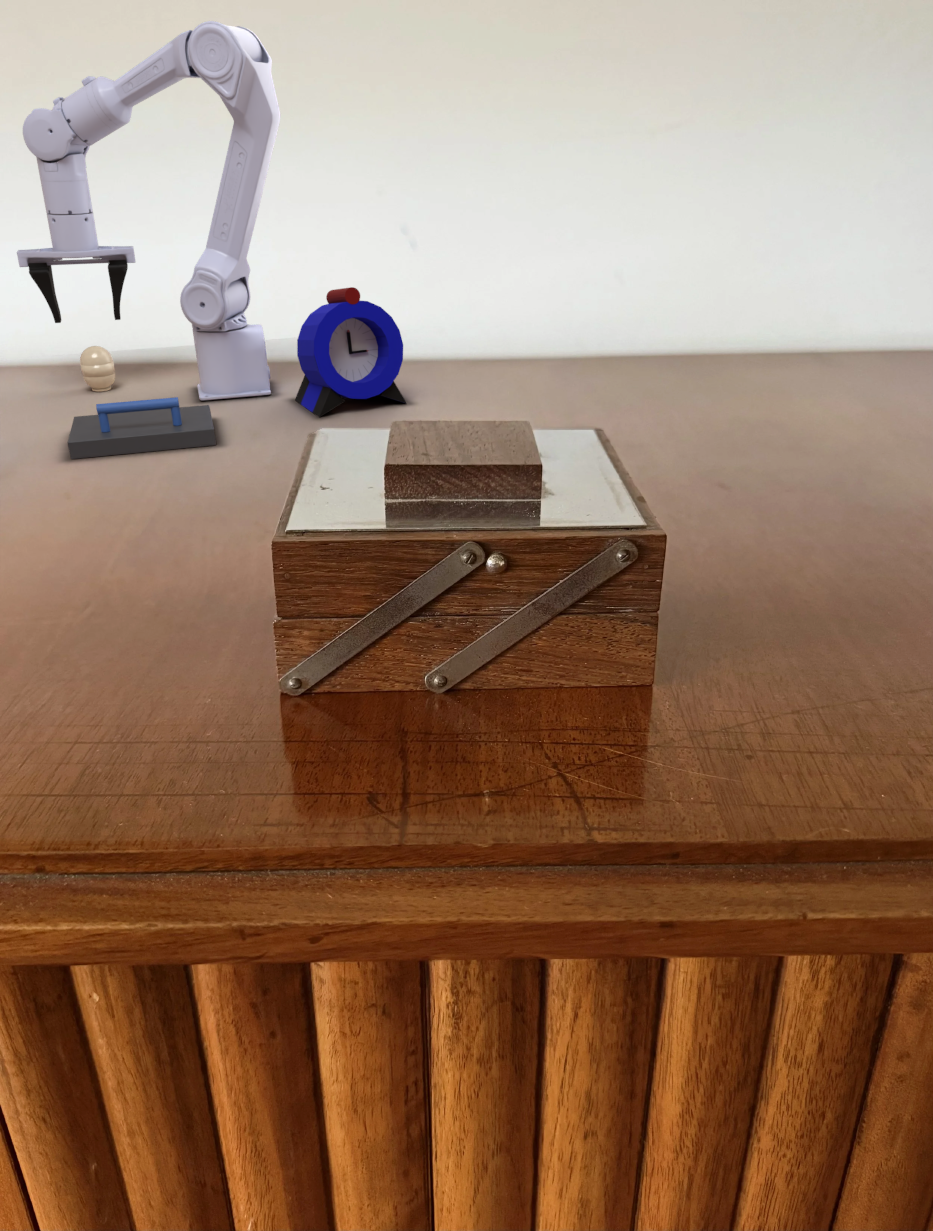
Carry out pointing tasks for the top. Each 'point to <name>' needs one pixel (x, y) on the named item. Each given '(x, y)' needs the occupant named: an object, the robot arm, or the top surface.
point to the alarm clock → (348, 353)
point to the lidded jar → (97, 368)
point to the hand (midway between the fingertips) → (88, 320)
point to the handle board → (140, 428)
